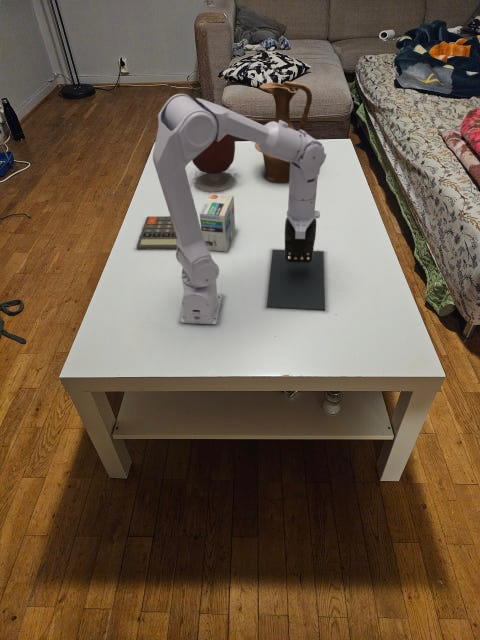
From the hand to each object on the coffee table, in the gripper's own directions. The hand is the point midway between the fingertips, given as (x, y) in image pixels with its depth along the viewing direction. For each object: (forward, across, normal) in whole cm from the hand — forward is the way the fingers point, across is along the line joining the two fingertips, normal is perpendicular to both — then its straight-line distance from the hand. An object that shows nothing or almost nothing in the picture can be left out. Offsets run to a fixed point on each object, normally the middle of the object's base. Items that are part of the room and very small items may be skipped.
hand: (298, 247), depth 105 cm
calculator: (+8, +16, +37) cm, 41 cm away
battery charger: (+4, 0, 0) cm, 4 cm away
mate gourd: (+8, +46, +28) cm, 54 cm away
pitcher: (+8, +52, +6) cm, 53 cm away
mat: (+8, -1, 0) cm, 8 cm away
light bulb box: (+8, +14, +21) cm, 27 cm away
